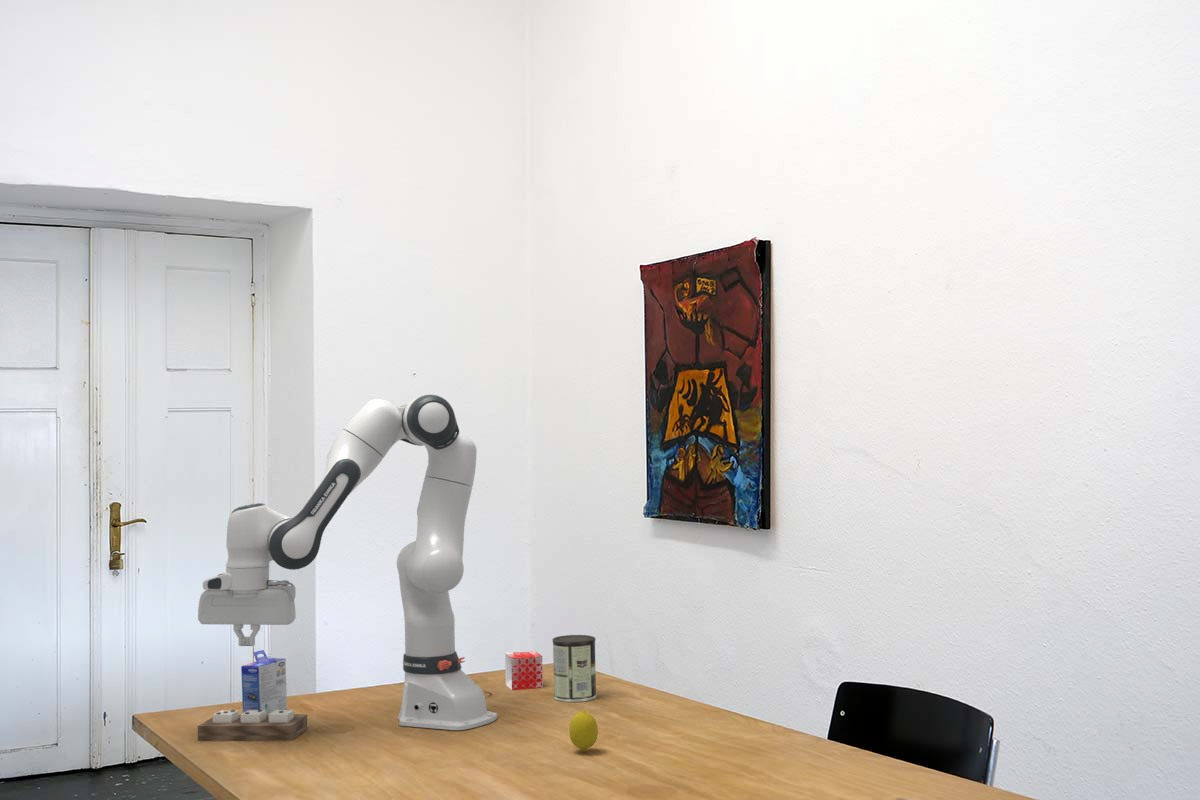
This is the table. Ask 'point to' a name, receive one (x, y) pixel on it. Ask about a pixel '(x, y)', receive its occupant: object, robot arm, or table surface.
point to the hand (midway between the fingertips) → (246, 645)
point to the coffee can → (574, 668)
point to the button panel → (252, 730)
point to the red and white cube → (524, 670)
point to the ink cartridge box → (264, 684)
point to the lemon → (583, 730)
